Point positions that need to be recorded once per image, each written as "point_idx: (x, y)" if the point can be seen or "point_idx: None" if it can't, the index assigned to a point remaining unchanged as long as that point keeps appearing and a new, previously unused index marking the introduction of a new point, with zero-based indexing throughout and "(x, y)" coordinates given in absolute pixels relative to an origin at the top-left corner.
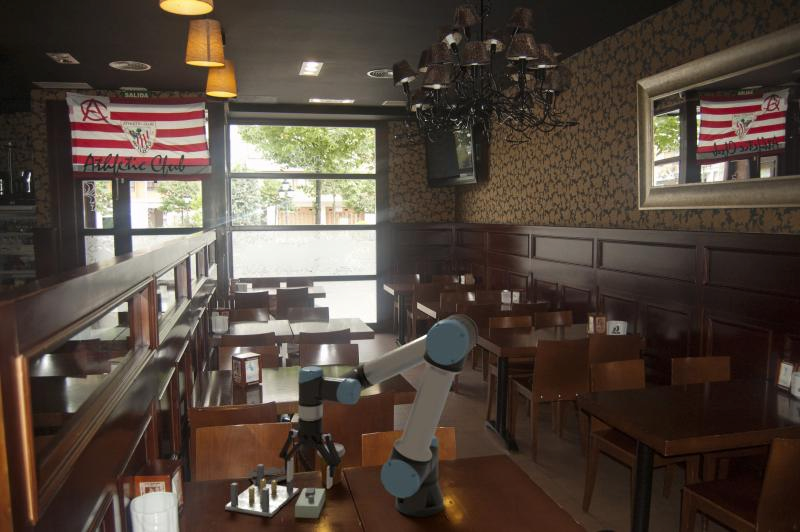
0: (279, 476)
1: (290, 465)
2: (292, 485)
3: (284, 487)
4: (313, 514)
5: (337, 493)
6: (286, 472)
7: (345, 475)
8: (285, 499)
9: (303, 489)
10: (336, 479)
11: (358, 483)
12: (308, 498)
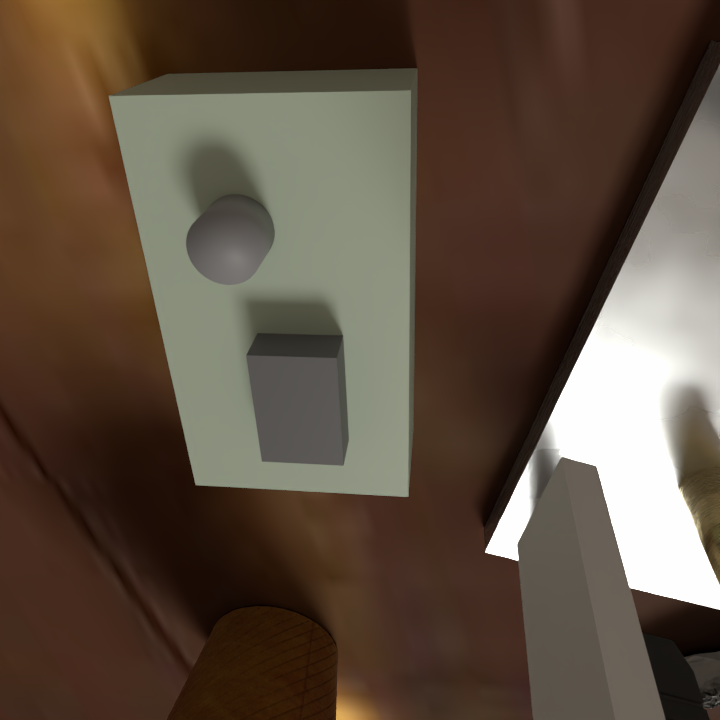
0: None
1: (584, 715)
2: None
3: None
4: (202, 78)
5: (170, 507)
6: None
7: None
8: (578, 377)
9: (403, 474)
10: (211, 645)
11: (86, 618)
12: (254, 222)
